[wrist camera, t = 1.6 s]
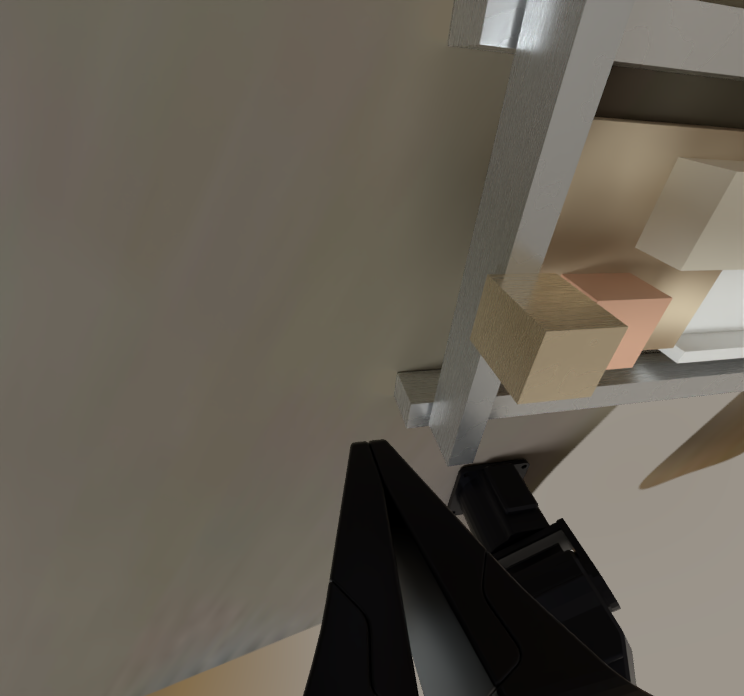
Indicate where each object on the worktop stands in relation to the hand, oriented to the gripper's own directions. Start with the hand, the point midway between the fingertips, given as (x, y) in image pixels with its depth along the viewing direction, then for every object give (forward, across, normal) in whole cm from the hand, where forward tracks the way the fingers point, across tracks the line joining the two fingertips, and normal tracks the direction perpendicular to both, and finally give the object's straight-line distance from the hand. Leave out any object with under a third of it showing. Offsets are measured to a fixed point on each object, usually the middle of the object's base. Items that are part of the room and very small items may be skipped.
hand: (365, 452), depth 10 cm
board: (+13, -17, 0) cm, 21 cm away
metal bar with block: (+10, -7, 0) cm, 12 cm away
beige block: (+11, -20, -3) cm, 23 cm away
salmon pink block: (+11, -16, +3) cm, 19 cm away
